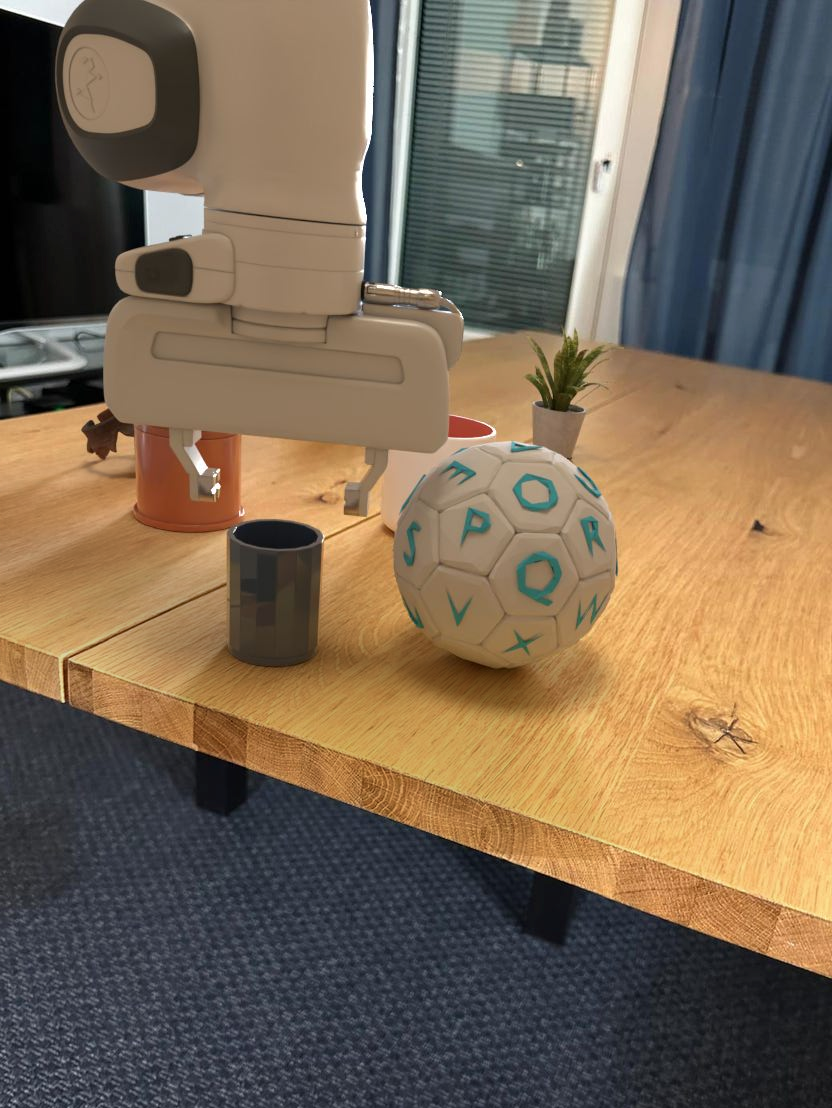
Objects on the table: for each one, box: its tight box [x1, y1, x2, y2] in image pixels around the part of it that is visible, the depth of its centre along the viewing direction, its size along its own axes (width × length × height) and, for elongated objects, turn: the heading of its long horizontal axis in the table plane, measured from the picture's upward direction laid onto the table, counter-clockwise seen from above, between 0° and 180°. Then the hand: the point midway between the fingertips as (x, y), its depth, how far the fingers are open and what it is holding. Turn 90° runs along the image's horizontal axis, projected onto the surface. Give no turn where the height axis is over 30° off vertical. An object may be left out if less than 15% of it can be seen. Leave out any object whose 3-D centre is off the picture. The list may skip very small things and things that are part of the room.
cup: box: [379, 414, 497, 533], centre depth 86 cm, size 10×10×10 cm
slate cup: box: [225, 518, 325, 668], centre depth 61 cm, size 6×6×8 cm
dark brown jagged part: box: [80, 407, 134, 461], centre depth 95 cm, size 12×10×8 cm
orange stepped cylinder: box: [132, 424, 245, 533], centre depth 82 cm, size 10×10×11 cm
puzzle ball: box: [392, 440, 619, 670], centre depth 62 cm, size 15×15×15 cm
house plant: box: [521, 324, 631, 459], centre depth 118 cm, size 14×14×16 cm
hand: (281, 506), depth 58 cm, fingers open, 8 cm apart
